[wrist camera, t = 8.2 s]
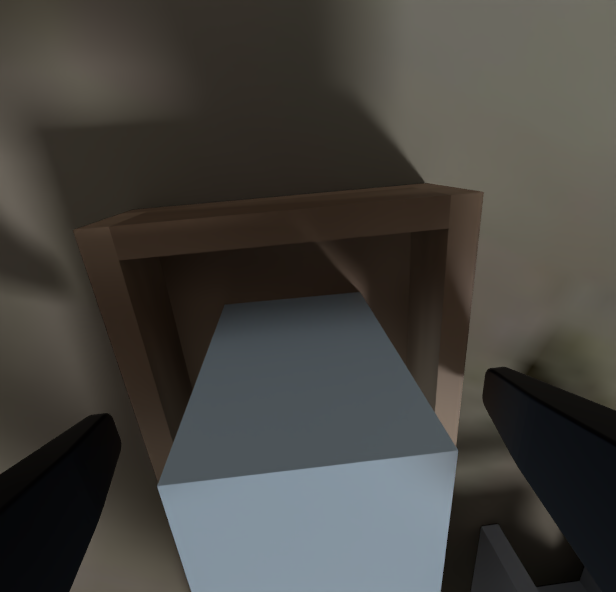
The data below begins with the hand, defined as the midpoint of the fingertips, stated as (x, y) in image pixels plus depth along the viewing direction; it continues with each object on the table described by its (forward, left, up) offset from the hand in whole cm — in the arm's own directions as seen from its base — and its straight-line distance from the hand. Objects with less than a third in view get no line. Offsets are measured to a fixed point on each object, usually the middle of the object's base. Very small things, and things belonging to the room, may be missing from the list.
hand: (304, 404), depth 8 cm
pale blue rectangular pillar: (-5, 0, -3) cm, 6 cm away
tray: (-5, 0, -4) cm, 7 cm away
